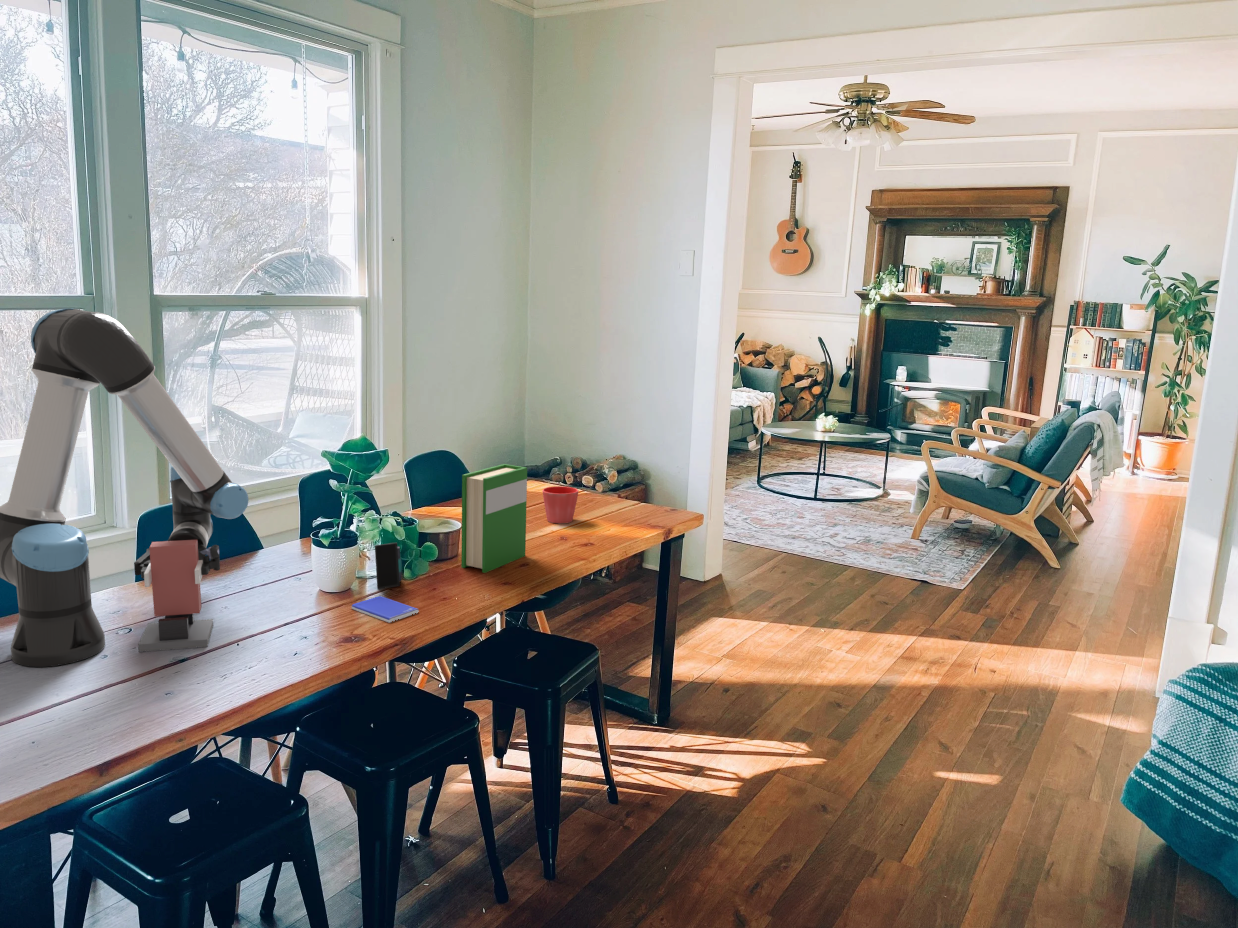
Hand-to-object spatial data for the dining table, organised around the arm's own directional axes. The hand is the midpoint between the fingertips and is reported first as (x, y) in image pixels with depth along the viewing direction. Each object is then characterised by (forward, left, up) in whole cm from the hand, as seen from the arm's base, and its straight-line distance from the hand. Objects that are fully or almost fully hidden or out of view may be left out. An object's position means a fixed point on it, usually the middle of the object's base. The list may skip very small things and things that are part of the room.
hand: (172, 578), depth 175 cm
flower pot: (+97, +80, -14) cm, 126 cm away
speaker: (+42, +31, -14) cm, 54 cm away
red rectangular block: (0, +5, -8) cm, 10 cm away
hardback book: (+70, +43, -14) cm, 83 cm away
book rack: (0, +5, -14) cm, 15 cm away
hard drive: (+40, +12, -15) cm, 44 cm away
